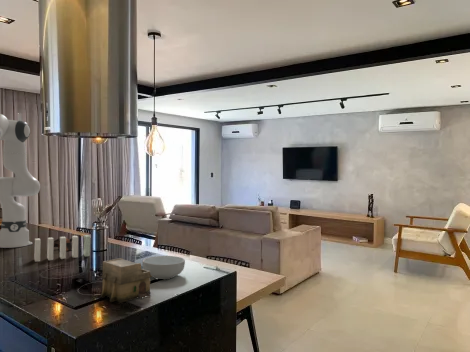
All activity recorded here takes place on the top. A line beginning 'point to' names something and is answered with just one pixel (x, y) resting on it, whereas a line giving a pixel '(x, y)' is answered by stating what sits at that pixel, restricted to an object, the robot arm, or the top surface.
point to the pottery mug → (68, 244)
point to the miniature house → (124, 280)
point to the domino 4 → (74, 246)
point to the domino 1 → (37, 249)
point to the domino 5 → (86, 245)
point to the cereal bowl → (164, 266)
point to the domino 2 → (50, 248)
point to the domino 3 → (63, 247)
